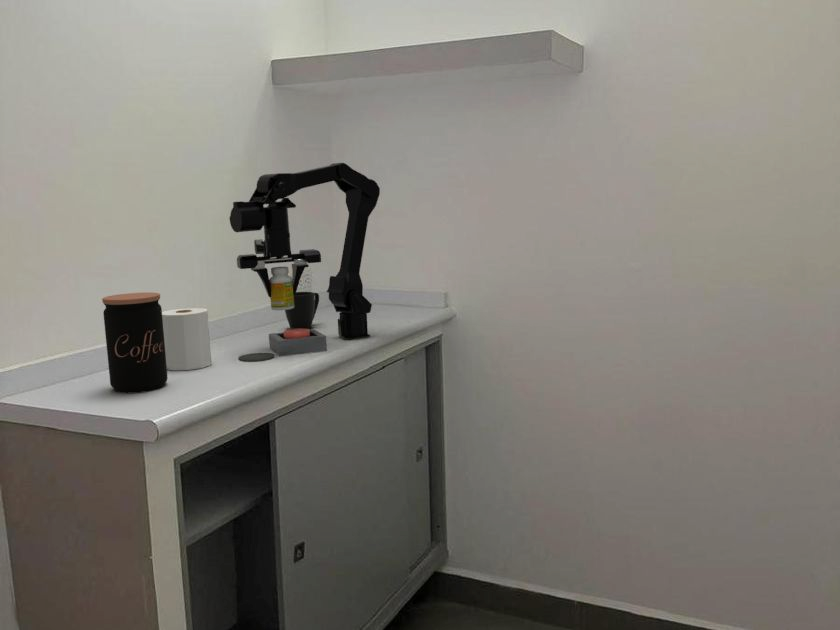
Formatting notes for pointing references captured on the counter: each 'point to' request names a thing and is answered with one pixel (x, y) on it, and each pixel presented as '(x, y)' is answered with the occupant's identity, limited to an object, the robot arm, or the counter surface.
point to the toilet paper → (186, 338)
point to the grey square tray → (297, 343)
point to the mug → (302, 310)
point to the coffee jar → (135, 342)
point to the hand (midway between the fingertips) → (282, 295)
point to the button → (296, 333)
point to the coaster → (256, 357)
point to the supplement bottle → (281, 289)
